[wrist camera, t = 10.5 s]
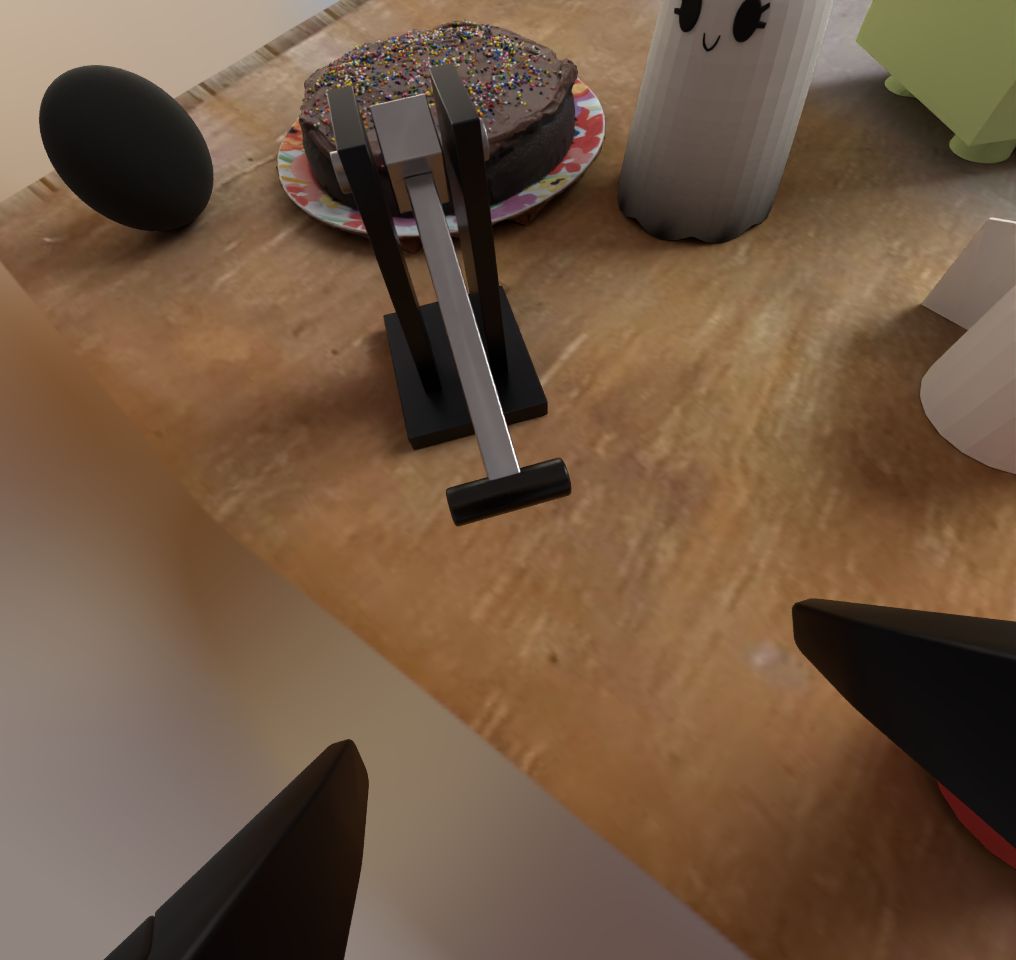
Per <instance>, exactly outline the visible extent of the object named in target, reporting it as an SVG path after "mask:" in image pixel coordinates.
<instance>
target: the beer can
mask: <svg viewBox="0 0 1016 960" xmlns="http://www.w3.org/2000/svg"><path fill="white" fill-rule="evenodd" d="M937 783H938V786H939V789H940V791H941V792H942V794H943V796H944V797H945V799H946V800H947V802H948V803H949V805H950V807H951V808H952V810H953V811H954V813H955V815H956V816H957V818H958V819H959V821H960V822H961V823H962V824H963V825H964V826H965V827H966V828H967V829H968V830H969V831H970V832H971V833H972V834H973V835H974V836H975V837H976V838H977V839H978V840H979V841H980V842H981V843H982V844H983V845H984V846H985V848H986V849H987V850H989V851H990V852H991V853H992V854H994V855H995V856H997V857H998V858H1000V859H1001V860H1003V861H1004V862H1006V863H1007V864H1009V865H1010V866H1012V867H1013V868H1015V869H1016V849H1015V848H1014V847H1013V846H1012V845H1011V844H1009V843H1008V842H1007V841H1006V840H1005V839H1004V838H1003V837H1001V836H1000V835H999V834H998V833H997V832H996V831H995V830H993V829H992V828H991V827H990V826H989V825H988V824H986V823H985V822H984V821H983V820H982V819H981V818H980V817H978V816H977V815H976V814H975V813H974V812H973V811H972V810H970V809H969V808H968V807H967V806H966V805H965V804H964V803H962V802H961V801H960V800H959V799H958V798H957V797H956V796H954V795H953V794H952V793H951V792H950V791H949V790H948V789H946V788H945V787H944V786H943V785H942V784H941V783H940V782H938V781H937Z"/></svg>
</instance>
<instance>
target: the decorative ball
mask: <svg viewBox="0 0 1016 960" xmlns="http://www.w3.org/2000/svg"><path fill="white" fill-rule="evenodd" d="M39 124H40V133H41V137H42V141H43V145H44V148H45V150H46V152H47V155H48V157H49V159H50V161H51V163H52V165H53V167H54V168H55V170H56V171H57V173H58V174H59V176H60V177H61V178H62V180H63V181H64V182H65V184H66V185H67V186H68V187H69V188H70V189H71V190H72V191H73V192H74V193H75V194H76V195H77V196H78V197H79V198H80V199H81V200H82V201H83V202H85V203H86V204H87V205H88V206H90V207H91V208H93V209H94V210H95V211H97V212H98V213H100V214H102V215H103V216H105V217H107V218H109V219H111V220H113V221H115V222H117V223H120V224H122V225H125V226H128V227H132V228H136V229H140V230H147V231H167V230H172V229H176V228H179V227H182V226H184V225H186V224H188V223H190V222H191V221H193V220H194V219H195V218H197V217H198V216H199V215H200V214H201V212H202V211H203V210H204V208H205V207H206V205H207V203H208V201H209V199H210V196H211V193H212V188H213V166H212V160H211V156H210V153H209V150H208V147H207V145H206V142H205V140H204V138H203V136H202V134H201V132H200V130H199V129H198V127H197V126H196V124H195V123H194V121H193V120H192V118H191V117H190V116H189V115H188V113H187V112H186V111H185V110H184V109H183V108H182V106H181V105H180V104H179V103H178V102H177V101H176V100H174V99H173V98H172V97H171V96H170V95H169V94H167V93H166V92H165V91H164V90H162V89H161V88H159V87H158V86H157V85H155V84H153V83H152V82H150V81H149V80H147V79H145V78H143V77H141V76H139V75H137V74H134V73H131V72H129V71H126V70H123V69H119V68H115V67H110V66H101V65H91V66H83V67H78V68H75V69H72V70H69V71H67V72H65V73H63V74H62V75H60V76H59V77H58V78H57V79H55V80H54V81H53V82H52V84H51V85H50V86H49V87H48V89H47V90H46V92H45V94H44V97H43V99H42V103H41V107H40V113H39Z"/></svg>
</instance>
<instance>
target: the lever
mask: <svg viewBox="0 0 1016 960" xmlns="http://www.w3.org/2000/svg"><path fill="white" fill-rule="evenodd" d="M369 110H370V113H371V117H372V121H373V124H374V128H375V132H376V135H377V139H378V143H379V146H380V150H381V154H382V157H383V161H384V165H385V168H386V171H387V175H388V178H389V182H390V185H391V188H392V192H393V195H394V198H395V202H396V205H397V209H398V212H399V213H405V212H410V211H413V215H414V218H415V222H416V225H417V229H418V232H419V236H420V240H421V243H422V247H423V250H424V254H425V257H426V261H427V265H428V268H429V272H430V275H431V279H432V282H433V286H434V289H435V293H436V297H437V300H438V304H439V307H440V311H441V314H442V318H443V322H444V325H445V329H446V332H447V336H448V339H449V343H450V346H451V350H452V354H453V357H454V361H455V364H456V368H457V371H458V375H459V378H460V382H461V386H462V389H463V393H464V396H465V400H466V403H467V407H468V411H469V414H470V418H471V421H472V425H473V428H474V432H475V435H476V439H477V443H478V446H479V450H480V453H481V457H482V460H483V464H484V467H485V471H486V475H487V477H486V478H483V479H479V480H475V481H472V482H468V483H465V484H461V485H457V486H454V487H450V488H448V489H446V496H447V501H448V505H449V509H450V512H451V516H452V519H453V521H454V524H455V525H456V526H462V525H466V524H469V523H473V522H476V521H480V520H483V519H487V518H491V517H494V516H498V515H501V514H505V513H508V512H512V511H515V510H519V509H523V508H526V507H530V506H533V505H537V504H540V503H544V502H547V501H551V500H555V499H558V498H562V497H565V496H569V495H570V494H571V482H570V478H569V474H568V471H567V468H566V466H565V463H564V462H563V460H562V459H561V458H555V459H552V460H548V461H544V462H541V463H537V464H533V465H530V466H526V467H523V468H520V467H519V463H518V460H517V457H516V453H515V450H514V447H513V443H512V440H511V436H510V433H509V430H508V426H507V423H506V420H505V416H504V413H503V409H502V406H501V403H500V399H499V396H498V393H497V389H496V386H495V383H494V379H493V376H492V372H491V369H490V366H489V362H488V359H487V356H486V352H485V349H484V346H483V342H482V339H481V335H480V332H479V329H478V325H477V322H476V319H475V315H474V312H473V309H472V305H471V302H470V298H469V295H468V292H467V288H466V285H465V282H464V278H463V275H462V272H461V268H460V265H459V261H458V258H457V255H456V251H455V248H454V245H453V241H452V238H451V234H450V231H449V228H448V224H447V221H446V218H445V214H444V211H443V208H442V204H443V203H447V202H450V193H449V187H448V180H447V173H446V167H445V160H444V154H443V149H442V146H441V143H440V139H439V136H438V133H437V130H436V126H435V123H434V120H433V117H432V113H431V110H430V107H429V104H428V100H427V97H426V95H425V94H420V95H416V96H412V97H407V98H403V99H398V100H394V101H390V102H385V103H381V104H376V105H372V106H370V109H369Z"/></svg>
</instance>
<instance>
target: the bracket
mask: <svg viewBox="0 0 1016 960" xmlns="http://www.w3.org/2000/svg"><path fill="white" fill-rule="evenodd" d="M429 73H430V79H431V84H432V90H433V95H434V101H435V106H436V112H437V117H438V123H439V128H440V134H441V139H442V145H443V150H444V155H445V161H446V166H447V172H448V177H449V183H450V188H451V194H452V199H453V205H454V210H455V216H456V221H457V227H458V232H459V238H460V243H461V249H462V254H463V260H464V265H465V271H466V276H467V282H468V287H469V293H470V294H468V295H469V298H470V302H471V305H472V309H473V312H474V315H475V319H476V322H477V325H478V329H479V332H480V335H481V339H482V342H483V346H484V349H485V352H486V356H487V359H488V362H489V366H490V369H491V372H492V376H493V379H494V383H495V386H496V389H497V393H498V396H499V399H500V403H501V406H502V409H503V413H504V416H505V420H506V423H507V425H509V424H513V423H517V422H520V421H524V420H528V419H531V418H535V417H539V416H543V415H546V414H548V402H547V399H546V397H545V394H544V391H543V389H542V386H541V384H540V381H539V379H538V376H537V374H536V371H535V368H534V366H533V363H532V361H531V358H530V356H529V353H528V351H527V348H526V345H525V343H524V340H523V338H522V335H521V333H520V330H519V328H518V325H517V322H516V320H515V317H514V315H513V312H512V310H511V307H510V304H509V302H508V299H507V297H506V294H505V292H504V289H503V287H502V286H499V282H498V273H497V264H496V255H495V246H494V237H493V229H492V220H491V211H490V202H489V193H488V184H487V176H486V167H485V161H486V160H488V159H489V143H488V137H487V132H486V128H485V124H484V122H483V120H482V118H479V116H478V114H477V111H476V109H475V107H474V105H473V103H472V101H471V99H470V97H469V95H468V93H467V90H466V88H465V86H464V84H463V82H462V80H461V78H460V76H459V74H458V72H457V69H456V67H455V65H454V63H449V64H445V65H440V66H436V67H431V68H429ZM327 98H328V103H329V109H330V114H331V120H332V125H333V131H334V136H335V142H336V147H337V151H334V152H331V153H330V157H331V161H332V165H333V168H334V171H335V174H336V177H337V180H338V183H339V185H340V188H341V190H342V192H343V193H344V194H347V193H351V192H352V193H353V196H354V199H355V202H356V204H357V207H358V210H359V213H360V215H361V218H362V221H363V223H364V226H365V229H366V232H367V234H368V237H369V240H370V243H371V245H372V248H373V251H374V254H375V256H376V259H377V262H378V265H379V267H380V270H381V273H382V275H383V278H384V281H385V284H386V286H387V289H388V292H389V295H390V297H391V300H392V303H393V306H394V308H395V311H396V312H395V313H391V314H387V315H384V316H383V317H384V322H385V327H386V332H387V337H388V341H389V346H390V351H391V356H392V361H393V366H394V371H395V376H396V381H397V385H398V390H399V395H400V400H401V405H402V410H403V415H404V420H405V425H406V430H407V434H408V439H409V441H410V443H411V445H412V448H413V449H414V450H417V449H420V448H424V447H428V446H431V445H435V444H439V443H443V442H446V441H450V440H454V439H457V438H461V437H465V436H468V435H472V434H475V432H474V428H473V425H472V421H471V418H470V414H469V411H468V407H467V403H466V400H465V396H464V393H463V389H462V386H461V382H460V378H459V375H458V371H457V368H456V364H455V361H454V357H453V354H452V350H451V346H450V343H449V339H448V336H447V332H446V329H445V325H444V322H443V318H442V314H441V311H440V307H439V304H438V302H434V303H431V304H427V305H423V306H419V303H418V300H417V297H416V293H415V290H414V287H413V284H412V280H411V277H410V274H409V271H408V267H407V264H406V261H405V257H404V254H403V251H402V248H401V244H400V241H399V238H398V235H397V231H396V228H395V225H394V221H393V218H392V215H391V212H390V208H389V205H388V202H387V199H386V195H385V192H384V189H383V185H382V182H381V179H380V176H379V172H378V169H377V166H376V163H375V159H374V156H373V153H372V149H371V146H370V143H369V140H368V136H367V133H366V130H365V126H364V123H363V120H362V117H361V113H360V110H359V107H358V104H357V100H356V97H355V94H354V90H353V87H352V86H351V85H350V86H346V87H341V88H337V89H333V90H328V91H327Z"/></svg>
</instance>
